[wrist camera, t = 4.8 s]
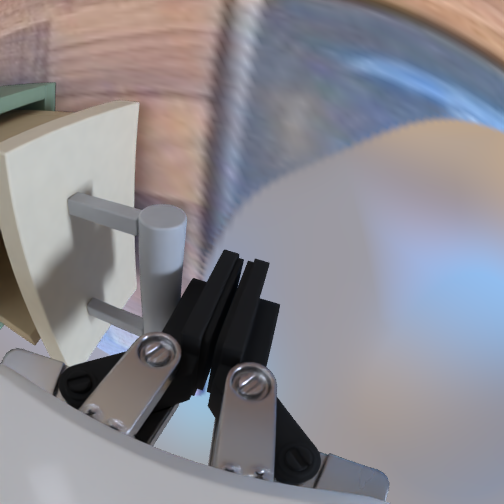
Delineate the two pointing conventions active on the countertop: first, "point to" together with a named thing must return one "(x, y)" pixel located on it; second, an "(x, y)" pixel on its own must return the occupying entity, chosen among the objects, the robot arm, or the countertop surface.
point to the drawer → (81, 231)
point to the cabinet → (27, 100)
